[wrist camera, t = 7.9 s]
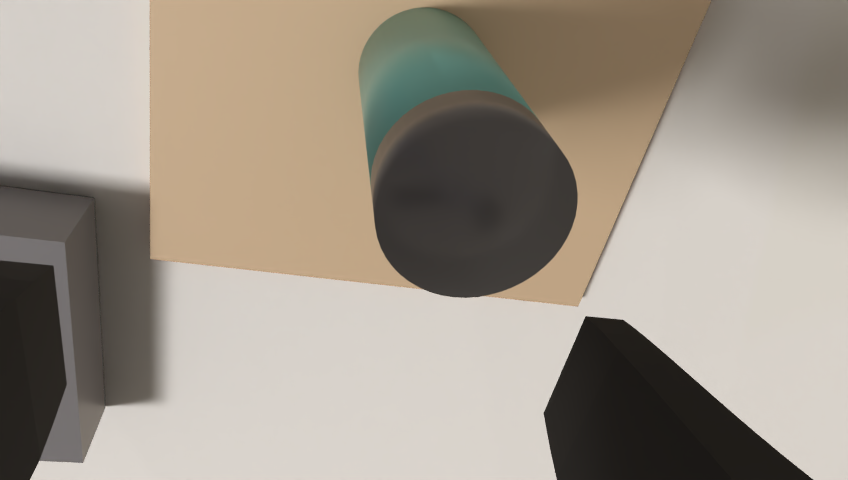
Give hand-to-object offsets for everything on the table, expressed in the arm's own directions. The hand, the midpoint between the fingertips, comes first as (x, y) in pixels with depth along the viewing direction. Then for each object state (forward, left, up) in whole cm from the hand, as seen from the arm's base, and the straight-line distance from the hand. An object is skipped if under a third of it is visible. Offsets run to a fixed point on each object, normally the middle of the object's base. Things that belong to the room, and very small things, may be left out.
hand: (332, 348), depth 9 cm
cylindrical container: (+2, +1, -9) cm, 9 cm away
